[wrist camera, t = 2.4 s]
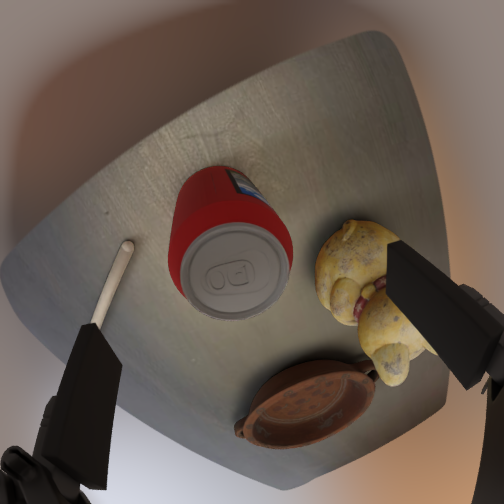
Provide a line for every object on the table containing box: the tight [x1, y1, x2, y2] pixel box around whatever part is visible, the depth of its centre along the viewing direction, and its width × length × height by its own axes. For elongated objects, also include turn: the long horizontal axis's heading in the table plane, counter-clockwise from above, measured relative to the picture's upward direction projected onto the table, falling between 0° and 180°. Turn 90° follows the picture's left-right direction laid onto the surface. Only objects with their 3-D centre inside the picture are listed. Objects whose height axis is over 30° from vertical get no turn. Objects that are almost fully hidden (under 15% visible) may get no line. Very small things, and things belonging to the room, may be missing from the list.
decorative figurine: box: [315, 219, 438, 386], centre depth 23 cm, size 10×8×15 cm
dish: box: [234, 360, 380, 449], centre depth 37 cm, size 18×22×5 cm
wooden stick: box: [91, 241, 134, 329], centre depth 27 cm, size 1×13×1 cm, turn 148°
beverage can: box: [168, 166, 293, 321], centre depth 20 cm, size 7×7×12 cm
